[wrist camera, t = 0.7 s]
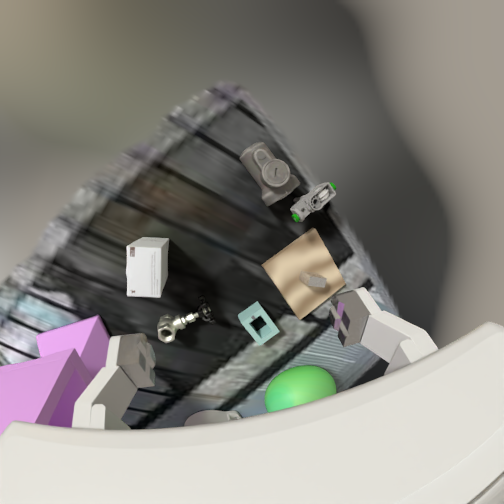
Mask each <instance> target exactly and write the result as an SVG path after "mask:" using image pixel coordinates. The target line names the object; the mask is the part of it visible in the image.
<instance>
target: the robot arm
mask: <svg viewBox="0 0 504 504" xmlns="http://www.w3.org/2000/svg"><path fill="white" fill-rule="evenodd" d="M331 303H332V304H333V306H332V307H331V308H330V313H329V315H330V321H331V324H332V326H333V328H334V329H335V330H337V331H339V332H338V338H339V340H340V341H341V343H342V345H343V347H346V346H349V345H353V344H356V343H359V342H360V343H361V344H362V345H364V346H365V347H367V348H368V349H369V350H371V351H372V352H374V353H375V354H377V355H378V356H380V357H381V358H383V359H384V360H385V361H387V362H389V363H390V364H389V366H388V368H387V370H386V371H385V373H384V375H385V376H382V377H380V378H377V379H375V380H372V381H370V382H368V383H365V384H362V385H359V386H357V387H354V388H352V389H349V390H346V391H343V392H340V393H337V394H334V395H331V396H328V397H324V398H321V399H318V400H315V401H311V402H308V403H304V404H301V405H297V406H293V407H290V408H286V409H282V410H278V411H273V412H269V413H265V414H260V415H255V416H251V417H245V418H242V417H241V416H240V415H239V413H238V412H237V411H226V412H224V411H218V410H205V411H201V412H197V413H195V414H193V415H191V416H190V417H189V418H188V419H187V420H186V421H185V424H184V427H174V428H160V429H140V430H131V428H130V427H129V426H128V425H127V424H125V423H124V422H123V421H122V420H121V418H122V417H123V415H124V413H125V411H126V409H127V408H128V406H129V404H130V402H131V400H132V398H133V397H134V395H135V393H136V391H137V390H138V389H137V388H143V387H152V386H155V372H154V371H153V369H152V368H153V367H154V366H155V355H154V351H153V348H152V346H151V345H150V344H149V343H147V337H146V336H145V334H144V333H140V334H130V335H122V336H112V337H111V338H110V341H109V347H108V353H107V360H106V367H103V368H102V369H101V370H100V371H99V373H98V374H97V375H96V376H95V378H94V379H93V380H92V381H91V383H90V384H89V385H88V387H87V388H86V389H85V390H84V392H83V393H82V394H81V396H80V397H79V398H78V400H77V401H76V402H75V405H74V413H73V421H72V428H69V427H59V426H50V425H42V424H36V423H29V422H24V421H17V420H15V421H12V422H11V423H10V424H9V425H8V426H7V427H6V429H5V430H4V431H3V433H2V434H1V435H0V504H504V327H503V326H501V325H499V324H496V323H493V322H485V323H484V324H482V325H480V326H479V327H477V328H476V329H474V330H472V331H471V332H469V333H467V334H466V335H464V336H462V337H461V338H459V339H458V340H456V341H454V342H452V343H450V344H449V345H447V346H445V347H443V348H441V349H438V348H437V347H436V345H435V344H434V342H433V341H432V340H431V338H430V337H429V335H428V334H427V332H426V331H425V330H423V329H421V328H419V327H417V326H415V325H413V324H411V323H409V322H407V321H405V320H403V319H401V318H399V317H397V316H395V315H392V314H390V313H388V312H386V311H381V310H380V308H379V307H378V305H377V304H376V303H375V301H374V300H373V298H372V297H371V296H370V294H369V293H368V291H367V290H366V289H365V288H364V287H362V288H359V289H355V290H351V291H347V292H344V293H340V294H336V295H333V296H332V299H331Z"/></svg>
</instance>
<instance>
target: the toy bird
mask: <svg viewBox="0 0 504 504" xmlns="http://www.w3.org/2000/svg"><path fill="white" fill-rule="evenodd" d="M334 394H336V385H335V382H334V379H333V378H332V376H331V375H330V374H329V373H328V372H327V371H326V370H324V369H322V368H320V367H317V366H311V365H304V366H297V367H293V368H290V369H288V370H286V371H284V372H282V373H281V374H279V375H278V376H276V377H275V378H274V379H273V380H272V381H271V383H270V384H269V386H268V387H267V390H266V393H265V406H266V409H267V411H268V413H269V412H273V411H278V410H282V409H286V408H290V407H293V406H297V405H301V404H304V403H308V402H311V401H315V400H318V399H321V398H324V397H328V396H331V395H334Z"/></svg>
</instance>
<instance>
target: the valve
mask: <svg viewBox="0 0 504 504" xmlns="http://www.w3.org/2000/svg"><path fill="white" fill-rule="evenodd" d="M198 298H199V300H201V301H202V303H201V305H199V306H198V309H197V310H196V311H197V312H196V313H194V314H193V313H192V312H191V313H189V314H186V317H184V316H182V317H181V315H178V316H175V318H174V317H173V316H171V315H169V314H167V315H164V316H162V317H161V318H160V321H159V323H158V326H157V330H158V338H159V339H160V340H162V341H163V342H165V343H168V342H171V341H173V340H175V334H176V332H177V330H178V329H184V328H186V326H185V325H186V324H187V322H190V323H191V322H193V321H195V320H196V319H195V318H197V317H200V318H202V319H203V320H204V321H210V323H211V325H213V324H215V323H216V320H215V318H214V317H213V316H214V314H213V312H212V311H211V310H210V308H209V307H210V306H209V304H208V302H206V299H205V296H203V295H202V296H200V297H198ZM205 316H206V317H207V318H208V319H206V318H205Z"/></svg>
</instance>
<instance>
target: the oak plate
mask: <svg viewBox="0 0 504 504" xmlns="http://www.w3.org/2000/svg"><path fill="white" fill-rule="evenodd" d="M262 266H263V268H264V269H265V271H266V272H267V274H268V275H269V277H270V278H271V279H272V281H273V282H274V284H275V285H276V287H277V288H278V290H279V291H280V293H281V294H282V296H283V297H284V299H285V300H286V301H287V303H288V304H289V306H290V307H291V309H292V310H293V312H294V313H295V315H296V316H297V318H298V319H299V320H301V319H302V318H303V317H304V316H306V315H307V314H308V313H310V312H311V311H312V310H314V309H315V308H316V307H317V306H319V305H320V304H321V303H323V302H324V301H325V300H326V299H328V298H329V297H330V296H331V295H333V294H334V293H335V292H336V291H337V290H339V289H340V288H341V287H342V286H344V285H345V284H346V283H345V281H344V280H343V278H342V276H341V274H340V272H339V270H338V268H337V267H336V265H335V263H334V261H333V259H332V257H331V256H330V254H329V252H328V250H327V248H326V247H325V245H324V243H323V241H322V239H321V238H320V236H319V234H318V232H317V231H316V229H315V228H311V229H310V230H309V231H307V232H306V233H305V234H303V235H302V236H301V237H299V238H298V239H296V240H295V241H294V242H292V243H291V244H290V245H288V246H287V247H286V248H284V249H283V250H281V251H280V252H279V253H277V254H276V255H275V256H273V257H272V258H271V259H269V260H268V261H266V262H265V263H264V264H262ZM301 271H308V272H315V273H318V274H320V275H322V276H323V277H325V278H327V280H326V284H325V288H324V287H315V286H308V285H306V284H305V283H303V282H302V281H301V280H299V276H300V272H301Z"/></svg>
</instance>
